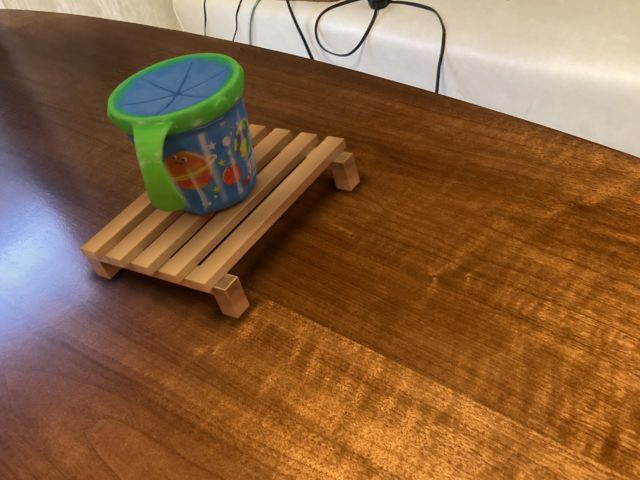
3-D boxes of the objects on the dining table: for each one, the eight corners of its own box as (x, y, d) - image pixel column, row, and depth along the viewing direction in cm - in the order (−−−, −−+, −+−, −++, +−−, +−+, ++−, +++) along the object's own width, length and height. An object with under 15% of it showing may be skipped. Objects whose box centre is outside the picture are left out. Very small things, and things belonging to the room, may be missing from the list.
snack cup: (200, 141, 73) (159, 39, 66) (303, 139, 70) (270, 32, 63) (120, 248, 63) (61, 141, 56) (237, 252, 59) (189, 138, 53)
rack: (94, 285, 67) (70, 245, 64) (233, 157, 79) (218, 118, 76) (234, 329, 60) (215, 287, 57) (365, 181, 71) (354, 139, 68)
